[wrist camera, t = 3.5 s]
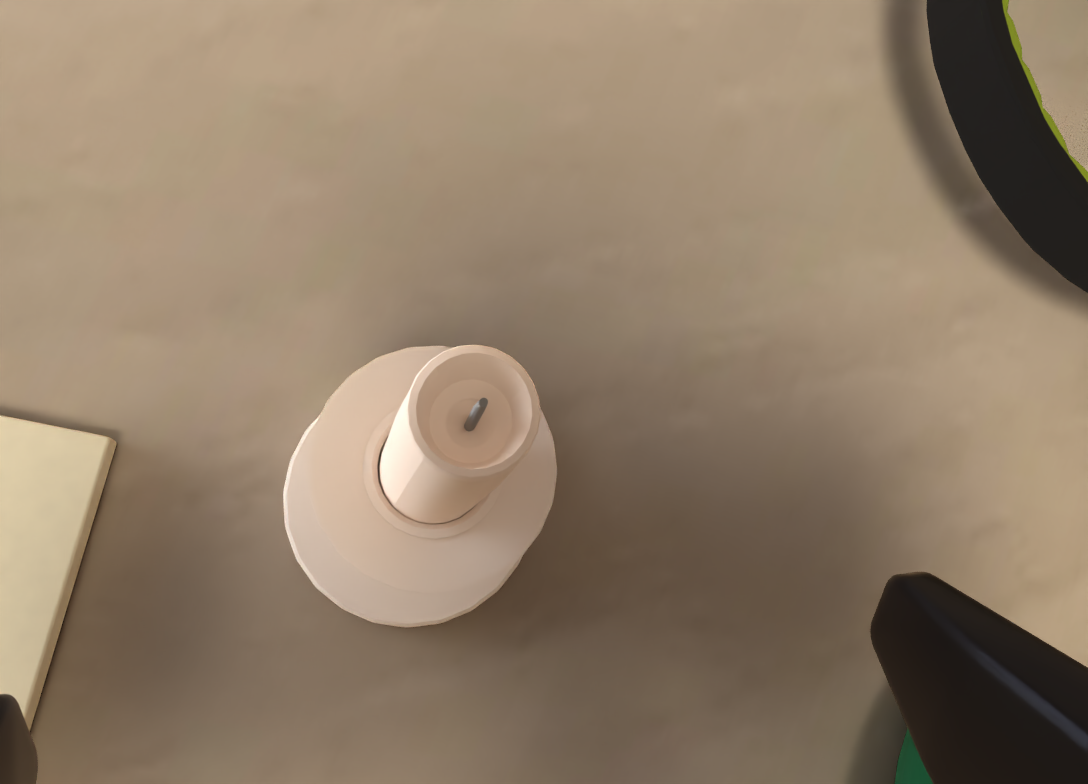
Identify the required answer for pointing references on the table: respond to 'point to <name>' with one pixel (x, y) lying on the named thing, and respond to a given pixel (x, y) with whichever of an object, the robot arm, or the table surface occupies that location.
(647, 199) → the table surface
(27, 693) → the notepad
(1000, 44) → the headphones
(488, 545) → the candle
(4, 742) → the robot arm
